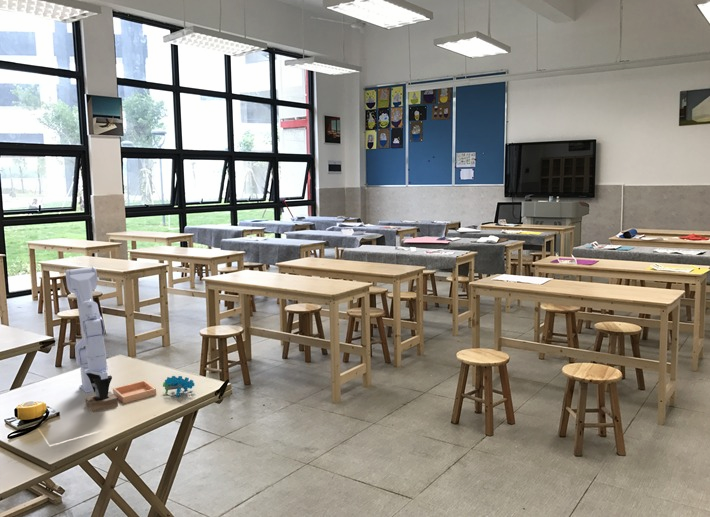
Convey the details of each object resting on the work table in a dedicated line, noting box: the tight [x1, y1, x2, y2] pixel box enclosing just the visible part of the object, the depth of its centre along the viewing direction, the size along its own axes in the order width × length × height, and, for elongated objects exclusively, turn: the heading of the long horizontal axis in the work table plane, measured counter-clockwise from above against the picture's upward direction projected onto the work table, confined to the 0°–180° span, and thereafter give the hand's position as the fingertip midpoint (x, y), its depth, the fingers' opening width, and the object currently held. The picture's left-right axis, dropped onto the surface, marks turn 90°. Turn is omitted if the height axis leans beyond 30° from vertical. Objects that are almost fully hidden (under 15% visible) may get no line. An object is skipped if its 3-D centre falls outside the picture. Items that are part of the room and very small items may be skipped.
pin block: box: [84, 391, 119, 413], centre depth 202 cm, size 8×8×3 cm
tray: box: [112, 380, 157, 404], centre depth 210 cm, size 11×11×2 cm
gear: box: [162, 375, 195, 398], centre depth 209 cm, size 11×6×10 cm
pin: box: [92, 382, 106, 401], centre depth 201 cm, size 4×4×8 cm
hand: (100, 394), depth 201 cm, fingers open, 7 cm apart
